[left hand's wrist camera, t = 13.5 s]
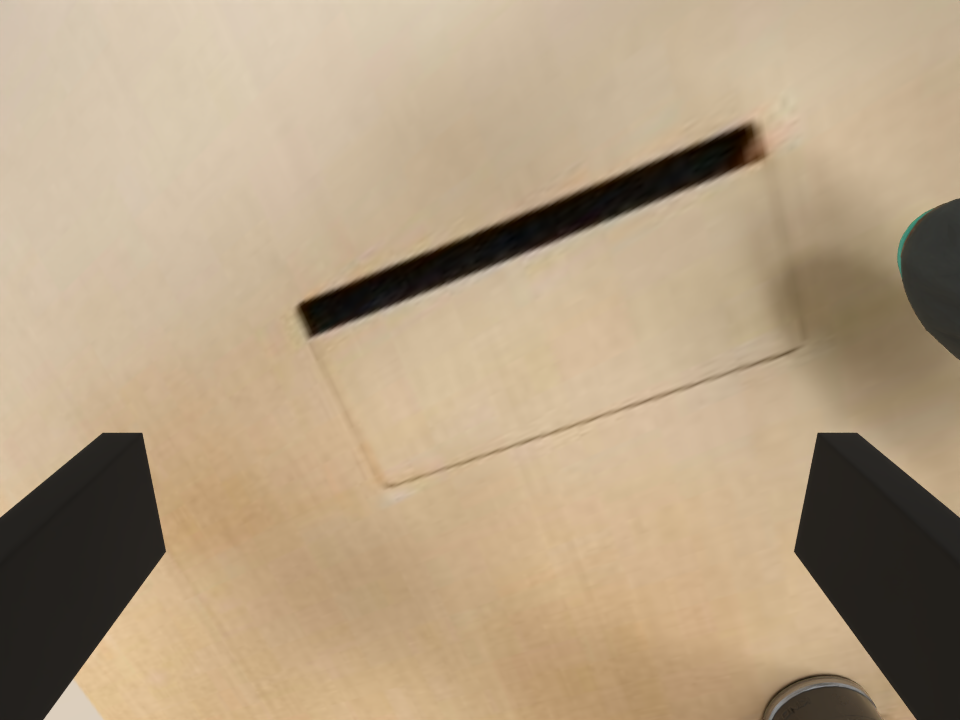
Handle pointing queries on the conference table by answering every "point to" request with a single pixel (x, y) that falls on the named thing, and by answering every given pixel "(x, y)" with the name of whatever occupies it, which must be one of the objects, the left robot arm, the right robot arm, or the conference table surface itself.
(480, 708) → the conference table surface
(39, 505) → the left robot arm
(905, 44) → the conference table surface
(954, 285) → the ballet flat
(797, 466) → the conference table surface
